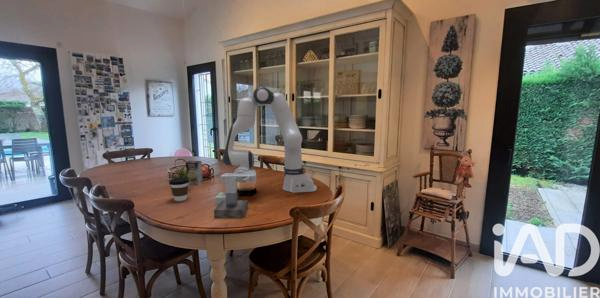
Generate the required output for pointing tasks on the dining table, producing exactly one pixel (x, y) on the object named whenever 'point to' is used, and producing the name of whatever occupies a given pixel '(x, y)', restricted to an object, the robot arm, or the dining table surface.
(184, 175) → the house plant
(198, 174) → the coffee box
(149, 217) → the dining table surface
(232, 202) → the housing
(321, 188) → the dining table surface
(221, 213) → the stand
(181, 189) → the coffee cup
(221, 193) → the stand
